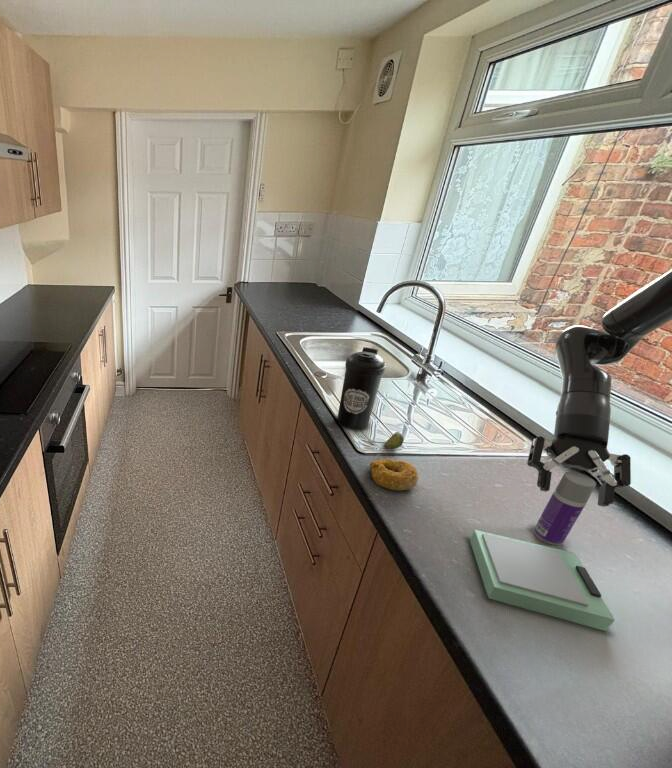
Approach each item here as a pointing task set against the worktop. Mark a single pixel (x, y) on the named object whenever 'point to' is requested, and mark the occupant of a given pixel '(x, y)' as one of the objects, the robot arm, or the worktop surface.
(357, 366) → the water bottle
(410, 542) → the worktop surface
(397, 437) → the lime
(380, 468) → the bagel
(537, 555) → the scale
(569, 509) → the container
